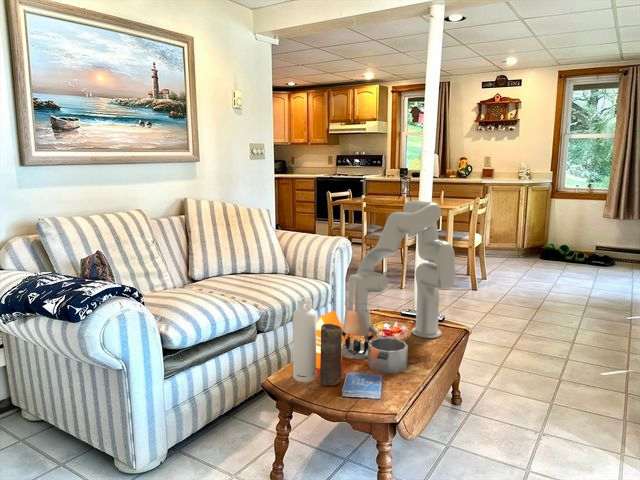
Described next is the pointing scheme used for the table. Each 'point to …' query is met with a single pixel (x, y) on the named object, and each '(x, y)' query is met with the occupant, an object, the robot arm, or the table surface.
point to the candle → (330, 354)
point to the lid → (355, 351)
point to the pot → (387, 355)
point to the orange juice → (324, 319)
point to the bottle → (304, 341)
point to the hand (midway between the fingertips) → (357, 348)
